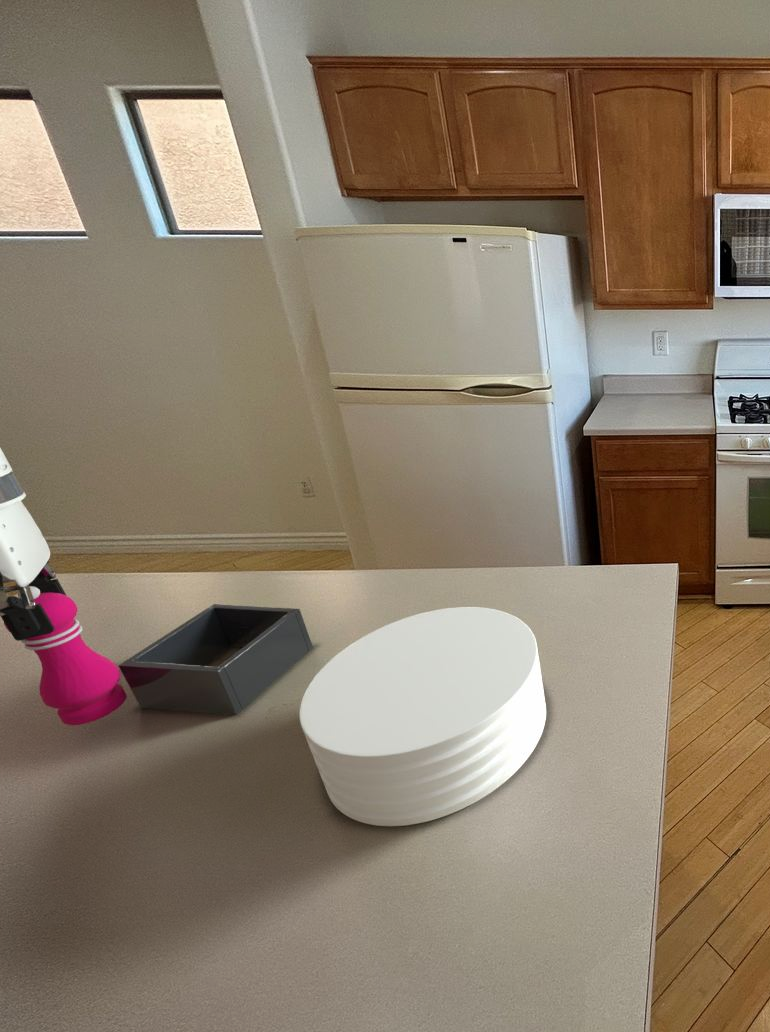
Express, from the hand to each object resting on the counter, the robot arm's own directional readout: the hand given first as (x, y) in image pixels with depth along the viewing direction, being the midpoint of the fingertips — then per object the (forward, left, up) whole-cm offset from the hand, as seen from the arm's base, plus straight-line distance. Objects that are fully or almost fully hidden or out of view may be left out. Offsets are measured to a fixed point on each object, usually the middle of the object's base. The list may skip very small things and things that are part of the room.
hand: (44, 620), depth 71 cm
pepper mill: (0, 0, -15) cm, 15 cm away
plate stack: (+48, +3, -18) cm, 51 cm away
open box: (+9, +11, -18) cm, 23 cm away
